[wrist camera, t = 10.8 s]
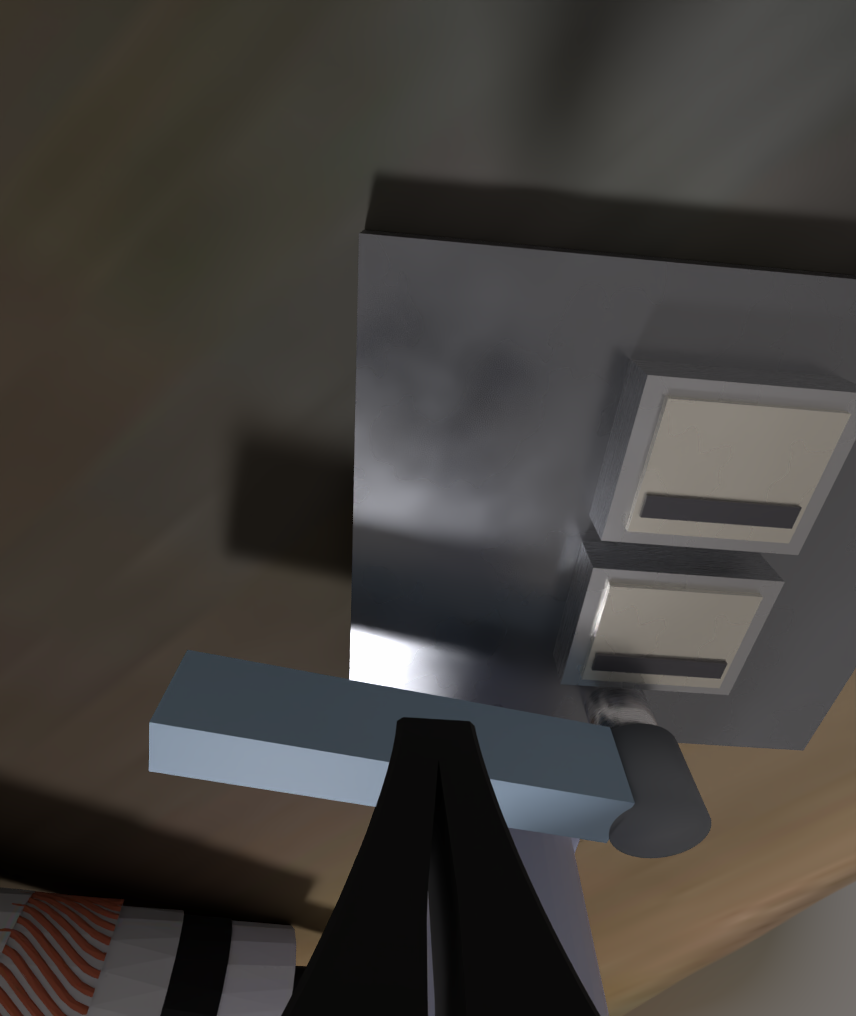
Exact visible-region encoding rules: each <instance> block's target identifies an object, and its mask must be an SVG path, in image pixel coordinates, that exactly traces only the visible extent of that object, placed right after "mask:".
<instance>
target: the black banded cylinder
mask: <svg viewBox="0 0 856 1016" xmlns="http://www.w3.org/2000/svg"><path fill="white" fill-rule="evenodd" d="M123 901H124V899H112V898H99V897H88V896H86V897H85V896H75V895H66V894H57V893H45V892H36V891H31V890H21V889H11V888H1V887H0V1016H281V1015H282V1013H283V1011H284V1009H285V1007H286V1005H287V1003H288V1001H289V1000H290V998H291V996H292V994H293V992H294V990H295V988H296V986H297V984H298V982H299V980H300V978H301V976H302V975H303V973H304V971H305V969H306V967H307V966H295V965H296V938H295V929H294V928H293V926H291V925H279V924H268V923H256V922H244V921H232V919H231V918H222V917H209V916H196V915H184V912H183V910H171V909H158V908H145V907H132V906H122V905H123Z"/></svg>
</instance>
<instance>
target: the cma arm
mask: <svg viewBox="0 0 856 1016" xmlns="http://www.w3.org/2000/svg"><path fill="white" fill-rule="evenodd" d="M403 717H412V718H428V719H445V720H461V721H470V722H471V723H472V724H473V725H474V726H475V729H476V734H477V738H478V742H479V745H480V749H481V753H482V756H483V759H484V763H485V766H486V769H487V772H488V775H489V778H490V781H491V784H492V787H493V789H494V792H495V795H496V798H497V801H498V803H499V806H500V809H501V811H502V814H503V816H504V819H505V821H506V824H507V826H508V828H514V829H521V830H527V831H533V832H540V833H546V834H553V835H559V836H565V837H572V838H578V839H584V840H591V841H597V842H604V843H607V841H608V840H609V839H610V842H611V843H612V845H613V846H614V847H615V848H616V849H618V850H619V851H621V852H623V853H625V854H627V855H631V856H635V857H641V858H660V857H667V856H672V855H676V854H679V853H682V852H684V851H687V850H689V849H691V848H693V847H694V846H696V845H697V844H699V843H700V842H701V841H702V840H703V839H704V838H705V837H706V836H707V834H708V833H709V831H710V828H711V818H710V816H709V814H708V811H707V809H706V807H705V805H704V802H703V800H702V798H701V795H700V793H699V791H698V789H697V786H696V784H695V782H694V780H693V777H692V775H691V773H690V770H689V768H688V766H687V764H686V761H685V759H684V757H683V754H682V752H681V750H680V748H679V745H678V743H677V741H676V739H675V737H674V736H673V735H672V734H671V733H670V732H669V731H668V730H666V729H664V728H662V727H659V726H656V725H652V724H643V723H638V724H628V725H623V726H620V727H617V728H614V729H612V730H611V729H610V727H606V726H601V725H595V724H590V723H585V722H579V721H574V720H568V719H563V718H557V717H552V716H546V715H541V714H535V713H530V712H524V711H519V710H514V709H508V708H503V707H497V706H492V705H486V704H481V703H475V702H470V701H464V700H459V699H453V698H448V697H443V696H437V695H432V694H426V693H421V692H415V691H410V690H404V689H399V688H393V687H388V686H382V685H377V684H372V683H366V682H361V681H355V680H350V679H344V678H339V677H333V676H328V675H322V674H317V673H311V672H306V671H301V670H295V669H290V668H284V667H279V666H273V665H268V664H262V663H257V662H251V661H246V660H240V659H235V658H230V657H224V656H219V655H213V654H208V653H202V652H197V651H191V650H187V652H186V654H185V655H184V657H183V659H182V661H181V663H180V665H179V667H178V669H177V671H176V673H175V675H174V676H173V678H172V680H171V682H170V684H169V686H168V688H167V690H166V692H165V694H164V696H163V697H162V699H161V701H160V703H159V705H158V707H157V709H156V711H155V713H154V715H153V717H152V718H151V720H150V724H149V771H151V772H158V773H164V774H171V775H177V776H183V777H190V778H196V779H202V780H209V781H215V782H222V783H228V784H234V785H241V786H247V787H253V788H260V789H266V790H272V791H279V792H285V793H292V794H298V795H304V796H311V797H317V798H323V799H330V800H336V801H342V802H349V803H355V804H362V805H368V806H374V807H376V804H377V801H378V798H379V795H380V792H381V789H382V786H383V783H384V779H385V776H386V773H387V769H388V765H389V762H390V758H391V754H392V749H393V744H394V739H395V733H396V724H397V720H399V719H401V718H403Z"/></svg>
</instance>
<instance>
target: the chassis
mask: <svg viewBox="0 0 856 1016" xmlns="http://www.w3.org/2000/svg"><path fill="white" fill-rule="evenodd" d="M855 668H856V276H855V275H844V274H833V273H823V272H812V271H801V270H790V269H780V268H769V267H758V266H747V265H737V264H726V263H715V262H704V261H694V260H683V259H672V258H661V257H651V256H640V255H629V254H618V253H608V252H597V251H586V250H575V249H565V248H554V247H543V246H532V245H522V244H511V243H500V242H490V241H479V240H468V239H457V238H447V237H436V236H425V235H414V234H404V233H393V232H382V231H371V230H363V231H362V232H360V233H359V260H358V308H357V357H356V405H355V454H354V502H353V551H352V600H351V648H350V680H355V681H361V682H366V683H372V684H377V685H382V686H388V687H393V688H399V689H404V690H410V691H415V692H421V693H426V694H432V695H437V696H443V697H448V698H453V699H459V700H464V701H470V702H475V703H481V704H486V705H492V706H497V707H503V708H508V709H514V710H519V711H524V712H530V713H535V714H541V715H546V716H552V717H557V718H563V719H568V720H574V721H579V722H585V723H590V724H595V725H601V726H606V727H610V729H611V730H612V729H614V728H617V727H620V726H623V725H628V724H638V723H643V724H652V725H656V726H659V727H662V728H664V729H666V730H668V731H669V732H670V733H671V734H672V735H673V736H674V737H675V739H676V741H677V743H690V744H707V745H723V746H740V747H756V748H772V749H789V750H804V748H805V747H806V745H807V744H808V742H809V741H810V739H811V737H812V736H813V734H814V733H815V731H816V729H817V728H818V726H819V725H820V723H821V722H822V720H823V718H824V717H825V715H826V714H827V712H828V711H829V709H830V707H831V706H832V704H833V703H834V701H835V700H836V698H837V696H838V695H839V693H840V692H841V690H842V689H843V687H844V685H845V684H846V682H847V681H848V679H849V677H850V676H851V674H852V673H853V671H854V670H855Z"/></svg>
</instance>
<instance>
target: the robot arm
mask: <svg viewBox="0 0 856 1016" xmlns="http://www.w3.org/2000/svg"><path fill="white" fill-rule="evenodd" d="M579 840H580V839H578V838H572V837H565V836H559V835H553V834H546V833H540V832H533V831H527V830H521V829H514V828H508V826H507V824H506V821H505V819H504V816H503V814H502V811H501V809H500V806H499V803H498V801H497V798H496V795H495V792H494V789H493V787H492V784H491V781H490V778H489V775H488V772H487V769H486V766H485V763H484V759H483V756H482V753H481V749H480V745H479V742H478V738H477V734H476V729H475V726H474V725H473V724H472V723H471V722H470V721H461V720H445V719H428V718H412V717H403V718H401V719H399V720H397V724H396V733H395V739H394V744H393V749H392V754H391V758H390V762H389V765H388V769H387V773H386V776H385V779H384V783H383V786H382V789H381V792H380V795H379V798H378V801H377V804H376V807H375V809H374V812H373V815H372V818H371V821H370V824H369V826H368V829H367V832H366V835H365V837H364V840H363V842H362V845H361V847H360V850H359V852H358V855H357V857H356V859H355V862H354V864H353V867H352V869H351V871H350V874H349V876H348V879H347V881H346V883H345V886H344V888H343V890H342V893H341V895H340V897H339V900H338V902H337V904H336V906H335V908H334V911H333V913H332V915H331V917H330V919H329V921H328V923H327V926H326V928H325V930H324V932H323V934H322V936H321V938H320V940H319V942H318V944H317V946H316V948H315V951H314V953H313V955H312V957H311V959H310V961H309V963H308V965H307V967H306V969H305V971H304V973H303V975H302V976H301V978H300V980H299V982H298V984H297V986H296V988H295V990H294V992H293V994H292V996H291V998H290V1000H289V1001H288V1003H287V1005H286V1007H285V1009H284V1011H283V1013H282V1015H281V1016H609V1014H608V1009H607V1004H606V999H605V995H604V990H603V985H602V981H601V976H600V971H599V967H598V962H597V957H596V953H595V948H594V943H593V938H592V934H591V929H590V924H589V920H588V915H587V910H586V906H585V901H584V896H583V892H582V887H581V882H580V877H579V873H578V868H577V863H576V859H575V854H574V853H575V851H576V848H577V846H578V843H579Z"/></svg>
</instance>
